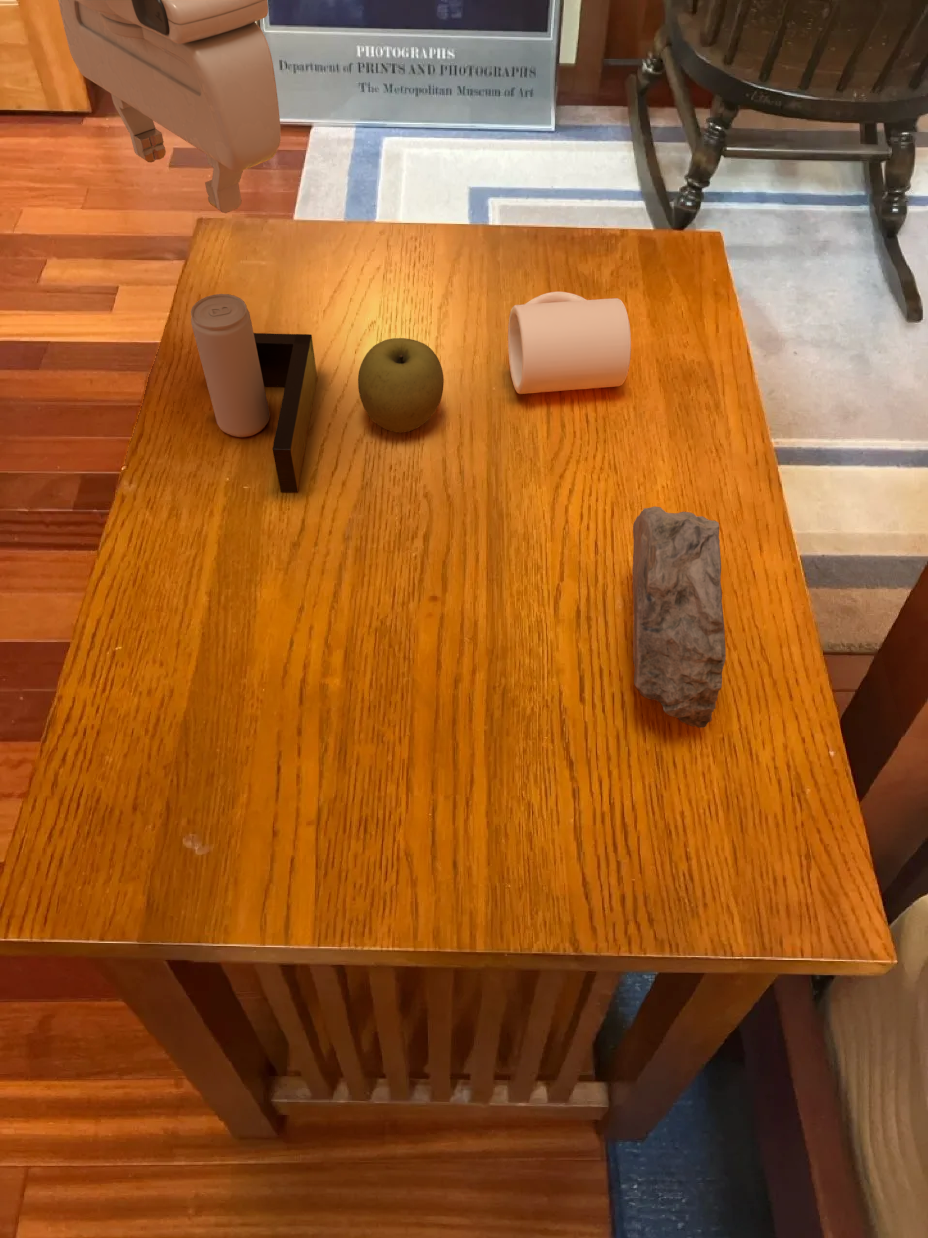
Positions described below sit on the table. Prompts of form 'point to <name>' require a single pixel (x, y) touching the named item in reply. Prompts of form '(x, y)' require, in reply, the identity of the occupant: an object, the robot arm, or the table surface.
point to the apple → (400, 384)
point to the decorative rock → (678, 613)
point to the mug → (568, 343)
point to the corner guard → (289, 398)
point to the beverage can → (230, 364)
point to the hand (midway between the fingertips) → (187, 181)
